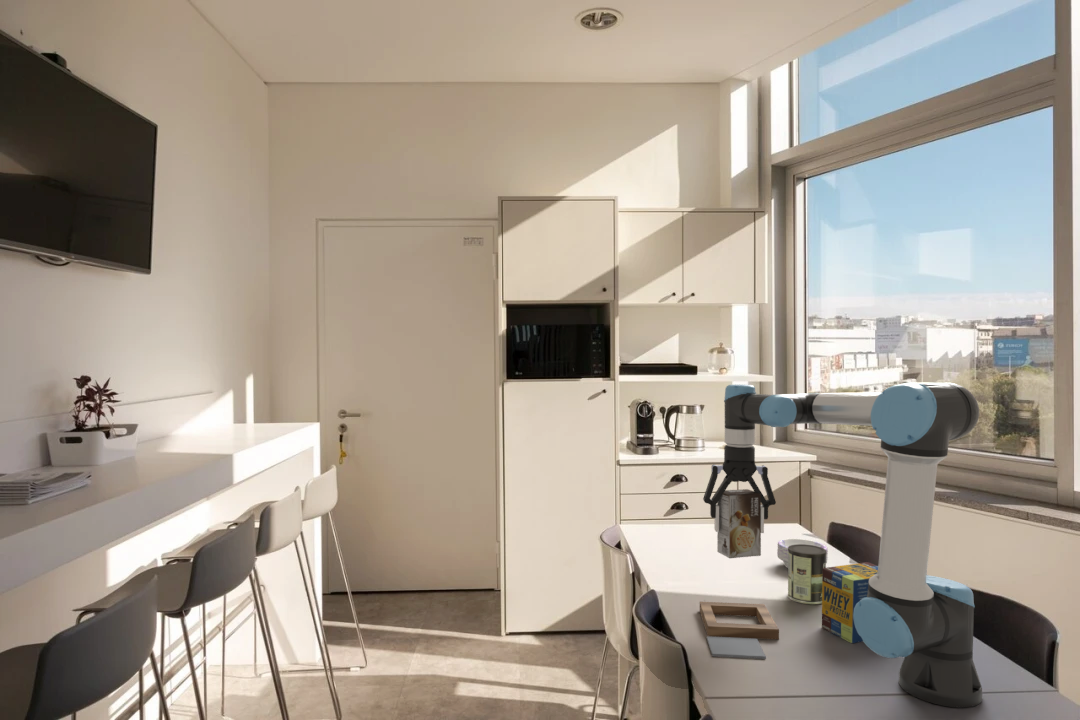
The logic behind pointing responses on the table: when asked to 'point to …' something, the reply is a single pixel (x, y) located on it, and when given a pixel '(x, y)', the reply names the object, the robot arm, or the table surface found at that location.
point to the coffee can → (805, 573)
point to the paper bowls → (786, 543)
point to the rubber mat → (735, 647)
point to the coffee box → (739, 524)
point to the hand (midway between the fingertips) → (738, 531)
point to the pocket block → (715, 629)
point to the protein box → (844, 597)
